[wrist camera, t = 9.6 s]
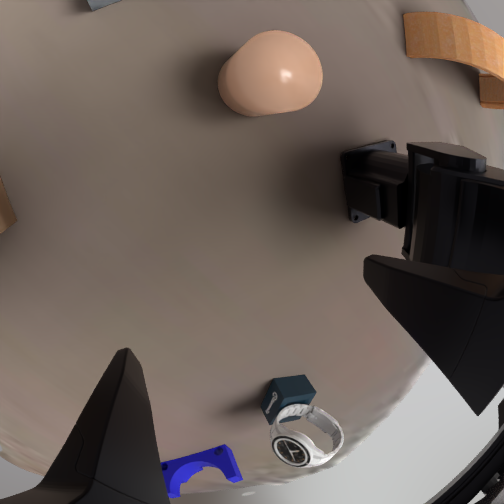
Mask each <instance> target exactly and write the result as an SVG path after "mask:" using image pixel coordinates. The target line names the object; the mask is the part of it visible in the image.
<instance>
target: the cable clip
mask: <svg viewBox="0 0 504 504" xmlns="http://www.w3.org/2000/svg"><path fill="white" fill-rule="evenodd" d="M205 466H210V467H216V468H219V469H220V470H221V471H222V472H223V473H224V475H225V476H226V479H228V480H229V481H231V482H233V483H235V482H238V481H241V480H243V478H242V476H241V473H240V471H239V468H238V466H237V463H236V461H235V458H234V456H233V453H232V450H231V449H230V448H228V447H227V446H226V445H225V444H224V445H221V446H218V447H215V448H212V449H209V450H206V451H203V452H199V453H196V454H192V455H189V456H185V457H182V458H178V459H174V460H170V461H166V462H162V463H161V467H162V472H163V476H164V481H165V485H166V489H167V493H168V497H170V498H176V497H180V492H179V491H180V484H181V483H184V482H187V481H188V479H189V478H190V477H191V476H192V475H194V474H195V473H197V472H199V471H201V470H203V468H202V467H205Z"/></svg>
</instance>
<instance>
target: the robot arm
mask: <svg viewBox="0 0 504 504" xmlns="http://www.w3.org/2000/svg"><path fill="white" fill-rule="evenodd" d="M407 150H408V155H404V154H399V153H397V151H396V144H395V142H394V141H391V140H388V141H383V142H379V143H375V144H371V145H367V146H363V147H359V148H355V149H351V150H347V151H344V152H343V153H342V154H341V162H342V168H343V175H344V185H345V192H346V199H347V205H348V211H349V219H350V221H351V222H353V223H358V222H360V221H362V220H365V219H367V218H369V217H372V218H374V219H376V220H379V221H380V220H382V221H384V222H386V223H388V224H390V225H393V226H395V227H397V228H399V229H401V228H403V227H404V228H405V237H404V246H403V247H402V253H401V254H402V255H403V256H404V257H405V258H406V260H404V259H398V258H392V257H386V256H380V255H370V256H368V257H366V258H365V259H364V269H363V276H364V280H365V282H366V283H367V285H368V286H369V287H370V288H371V290H372V291H373V292H374V294H375V295H376V296H377V298H378V299H379V300H380V301H381V303H382V304H383V305H384V307H385V308H386V309H387V310H388V311H389V312H390V314H391V315H392V316H393V317H394V318H395V319H396V320H397V321H398V322H399V323H400V324H401V326H402V327H403V328H404V329H405V330H406V331H407V332H408V333H409V334H410V336H411V337H412V338H413V339H414V340H415V341H416V342H417V343H418V345H419V346H420V347H421V348H422V349H423V350H424V351H425V353H426V354H427V355H428V356H429V357H430V358H431V360H432V361H433V362H434V363H435V364H436V365H437V366H438V368H439V369H440V370H441V371H442V373H443V374H444V375H445V376H446V377H447V379H448V380H449V381H450V382H451V384H452V385H453V386H454V387H455V389H456V390H457V391H458V392H459V393H460V395H461V396H462V397H463V399H464V400H465V401H466V402H467V404H468V405H469V406H470V408H471V409H472V410H473V411H474V413H475V414H476V415H477V416H479V415H480V414H481V413H482V412H483V410H484V409H485V408H486V407H487V406H488V404H489V403H490V402H491V401H492V400H493V398H494V397H495V396H496V395H497V393H498V392H499V390H500V389H501V388H502V387H504V170H502V169H499V168H495V167H491V166H488V165H486V157H484V156H482V155H480V154H478V153H476V152H474V151H472V150H470V149H468V148H466V147H464V146H459V145H454V144H448V143H442V142H411V143H407ZM347 155H348V159H346V156H347ZM355 216H356V217H355ZM354 217H355V219H354ZM498 413H499V430H498V432H497V433H496V434H495V435H494V437H493V438H492V439H491V440H490V441H489V443H488V444H487V445H486V446H485V447H484V448H483V449H482V451H481V452H480V453H479V454H478V455H477V456H476V457H475V458H474V459H473V460H472V461H471V462H470V464H469V465H468V466H467V467H466V468H465V469H464V470H463V471H462V472H461V473H459V475H457V476H456V477H455V478H454V479H453V480H452V481H451V482H450V483H449V484H448V485H447V486H445V487H444V488H443V489H442V490H441V491H440V492H438V493H437V494H436V495H435V496H434V497H432V498H431V499H430V500H429V501H427V502H426V503H425V504H467V503H469V502H470V501H471V500H472V499H473V498H474V497H475V496H476V495H477V494H478V493H479V491H480V490H481V491H482V492H483V493H484V495H485V497H484V498H482V499H481V500H480V501H478V502H476V503H475V504H504V399H503V400H502V401H501V403H500V404H499V405H498ZM0 504H170V501H169V497H168V493H167V489H166V485H165V481H164V476H163V472H162V467H161V463H160V458H159V453H158V448H157V442H156V436H155V430H154V424H153V417H152V411H151V405H150V400H149V396H148V392H147V388H146V384H145V379H144V375H143V370H142V367H141V364H140V362H139V361H138V360H137V358H136V357H135V355H134V354H133V352H132V351H131V349H129V348H124V349H120V350H118V351H117V352H116V354H115V356H114V357H113V359H112V361H111V362H110V364H109V366H108V367H107V369H106V371H105V372H104V374H103V376H102V377H101V379H100V381H99V382H98V384H97V386H96V388H95V389H94V391H93V393H92V395H91V396H90V398H89V400H88V402H87V404H86V405H85V407H84V409H83V411H82V413H81V414H80V416H79V418H78V420H77V422H76V424H75V425H74V427H73V429H72V431H71V433H70V435H69V437H68V438H67V440H66V442H65V444H64V445H63V447H62V449H61V450H60V452H59V454H58V455H57V457H56V459H55V460H54V462H53V463H52V465H51V467H50V468H49V470H48V472H47V473H46V475H45V477H44V478H43V480H42V481H41V482H40V483H39V484H38V485H37V486H36V487H34V488H32V489H30V490H27V491H25V492H22V493H19V494H16V495H13V496H10V497H7V498H4V499H0Z"/></svg>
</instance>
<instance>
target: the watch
mask: <svg viewBox="0 0 504 504" xmlns="http://www.w3.org/2000/svg"><path fill="white" fill-rule="evenodd" d="M315 394H316V391H315V389H314V388H313V386H312V385H311V383H310V382H309V380H308V379H307V377H306V376H305V375H298V376H290V377H282V378H273V381H272V383H271V385H270V387H269V389H268V392H267V394H266V396H265V398H264V400H263V402H262V405H261V408H262V410H263V413H264V415H265V417H266V419H267V421H268V423H269V425H272V427H271V430H270V431H271V432H270V438H271V439H270V441H271V446H272V450H273V451H274V453H275V455H276V456H277V457H278V458H279V459H280V460H281V461H283V462H284V463H286V464H288V465H290V466H293V467H299V468H301V467H311V466H312V467H313V466H318V465H321V464H323V463H325V462H327V461H328V460H329V459H330V458H331V457H332V456H333V455H334V454H335V453H336V452H337V451H338V450H339V449H340V448H341V446H342V444H343V441H344V438H343V437H344V435H343V432H342V429H341V427H340V425H339V424H338V421H337V420H335V419H334V418H333V417H332V416H331V415H329V414H328V413H326V412H325V411H323V410H322V409H320V408H318V407H316V406H310V405H309V404H310V402H311V401H312V399H313V397H314V396H315ZM301 416H303V417H306V418H307V419H306V420H308V421H309V422H311V423H313V424H314V425H316V426H317V427H319V428H320V429H321V430H322V431H323V432H325V433H328V434H329V436H330V437H332V440H333V445H334V446H333V450H332V452H330V453H328V454H324V452H323V451H322V450H320V449H318V448H317V447H315V445H314V443H313V442H312V440H311V439H310V438H309V437H307V436H306V435H305V434H303V433H301V432H299V431H295V430H290V429H288V428H287V427H285V426H284V425H283V424H280V425H279V423H283V422H288V421H293V420H298V419H300V418H301Z"/></svg>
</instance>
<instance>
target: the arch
mask: <svg viewBox="0 0 504 504" xmlns="http://www.w3.org/2000/svg"><path fill="white" fill-rule="evenodd" d="M403 19H404V28H405V39H406V53H407V56H408V57H410V58H438V59H445V60H451V61H456V62H460V63H464V64H467V65H471V66H473V67H476V68H479V69H481V70H484V71H486V72H488V73H490V74H479V85H480V101H481V102H480V105H481V106H482V107H484V108H491V109H504V38H502V37H501V36H499V35H498V34H497V33H495V32H494V31H493V30H491V29H489V28H487V27H485V26H483V25H481V24H479V23H477V22H474V21H472V20H469V19H466V18H463V17H459V16H455V15H451V14H445V13H438V12H413V13H406V14H403Z"/></svg>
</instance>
